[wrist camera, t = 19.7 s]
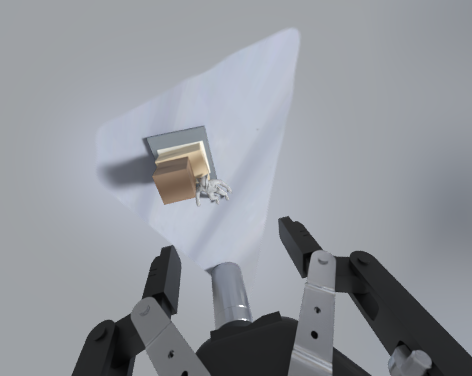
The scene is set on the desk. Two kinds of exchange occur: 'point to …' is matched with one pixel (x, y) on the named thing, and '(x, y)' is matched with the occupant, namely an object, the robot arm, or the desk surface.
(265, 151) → the desk surface
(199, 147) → the maple block
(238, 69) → the desk surface
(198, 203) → the soldier figure
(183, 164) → the walnut cube
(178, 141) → the board
